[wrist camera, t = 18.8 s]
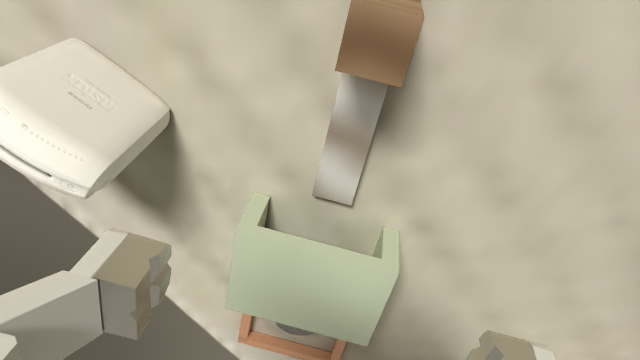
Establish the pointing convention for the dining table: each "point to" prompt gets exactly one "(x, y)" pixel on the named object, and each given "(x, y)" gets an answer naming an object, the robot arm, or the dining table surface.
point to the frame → (286, 344)
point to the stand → (309, 279)
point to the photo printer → (74, 118)
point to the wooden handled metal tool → (365, 87)
